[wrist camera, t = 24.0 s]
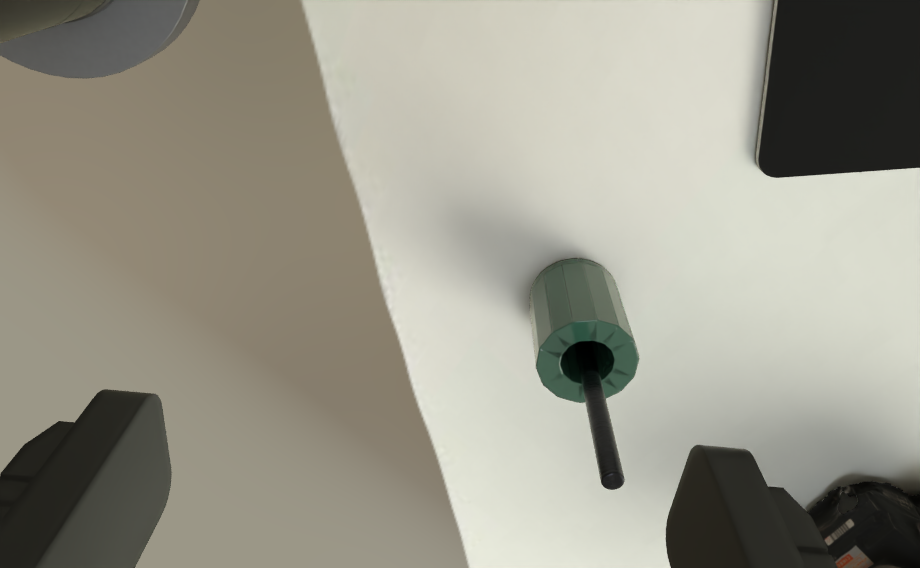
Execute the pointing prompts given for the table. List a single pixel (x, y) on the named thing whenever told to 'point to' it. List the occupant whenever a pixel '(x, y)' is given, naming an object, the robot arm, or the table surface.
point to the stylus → (599, 417)
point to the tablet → (841, 88)
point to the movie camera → (871, 527)
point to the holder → (580, 328)
